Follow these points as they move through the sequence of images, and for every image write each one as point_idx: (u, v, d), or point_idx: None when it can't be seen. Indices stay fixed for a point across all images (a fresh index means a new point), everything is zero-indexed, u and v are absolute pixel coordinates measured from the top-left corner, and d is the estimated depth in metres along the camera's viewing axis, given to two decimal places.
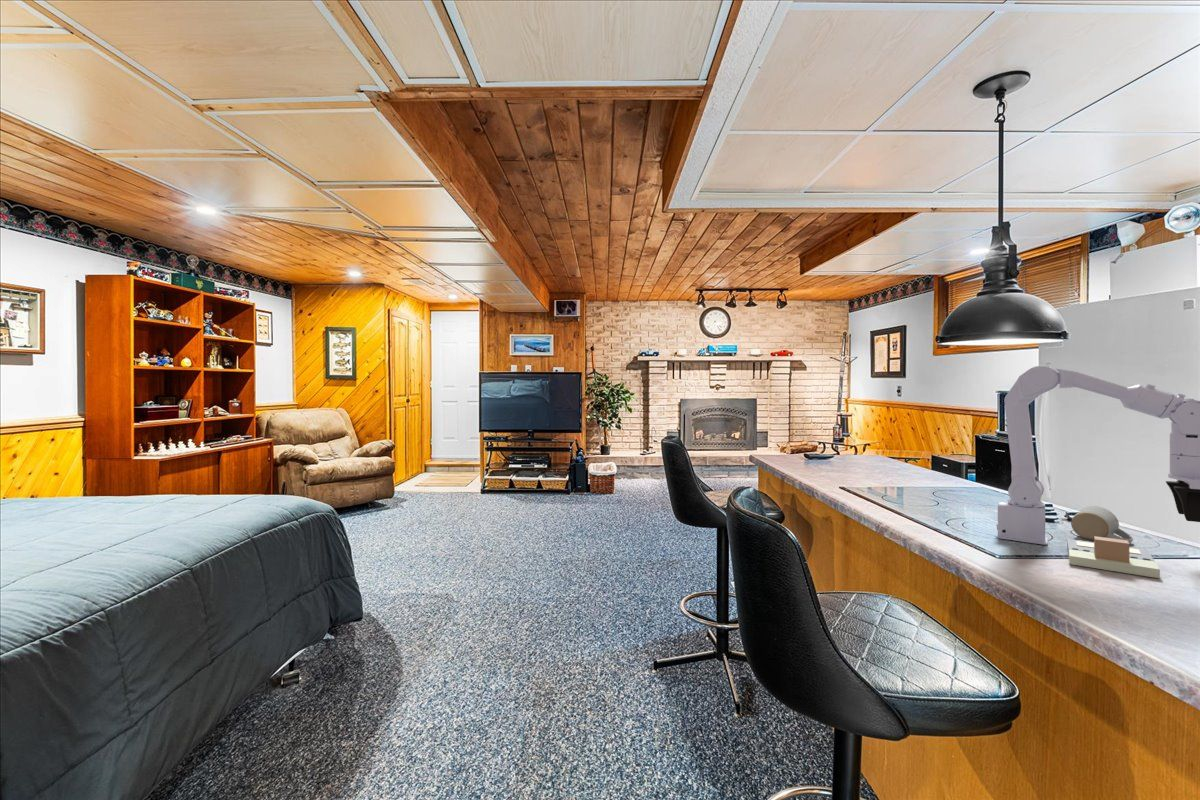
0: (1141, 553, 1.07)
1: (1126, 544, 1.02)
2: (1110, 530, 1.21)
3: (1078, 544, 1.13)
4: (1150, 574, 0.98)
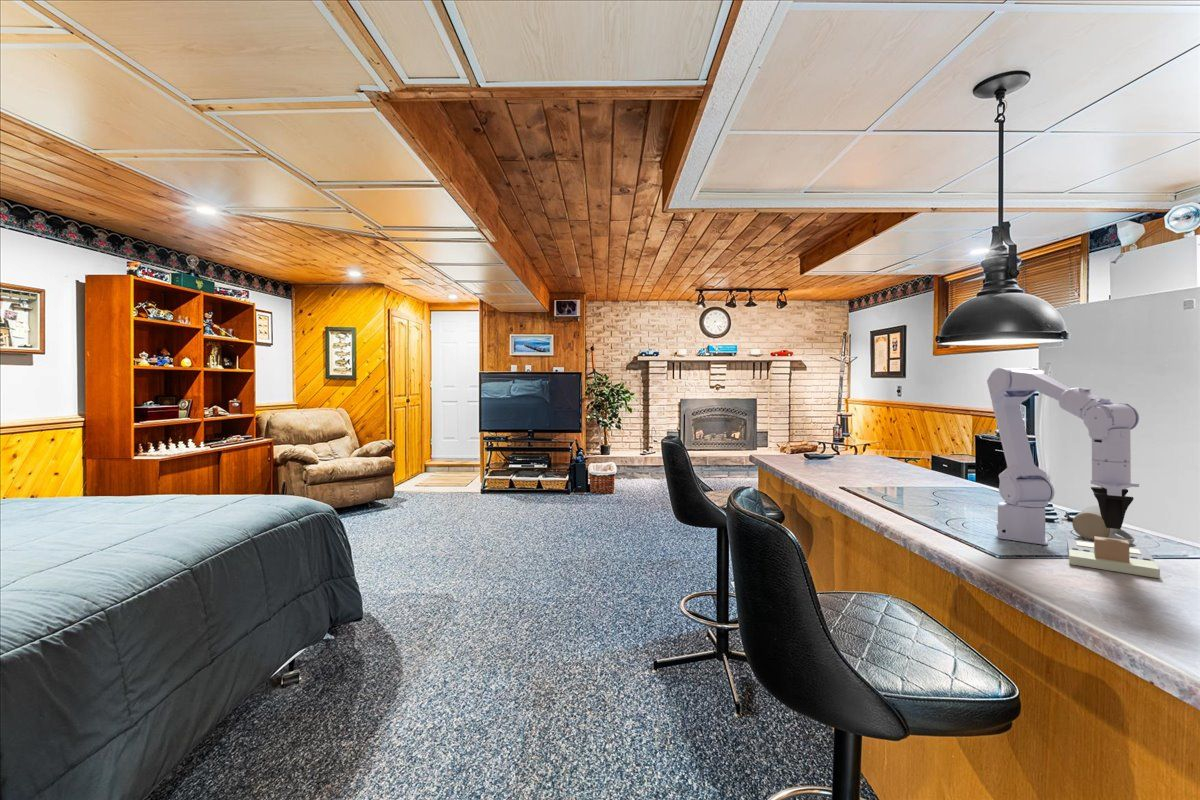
0: (1141, 553, 1.07)
1: (1126, 544, 1.02)
2: (1111, 530, 1.21)
3: (1078, 544, 1.13)
4: (1150, 574, 0.98)
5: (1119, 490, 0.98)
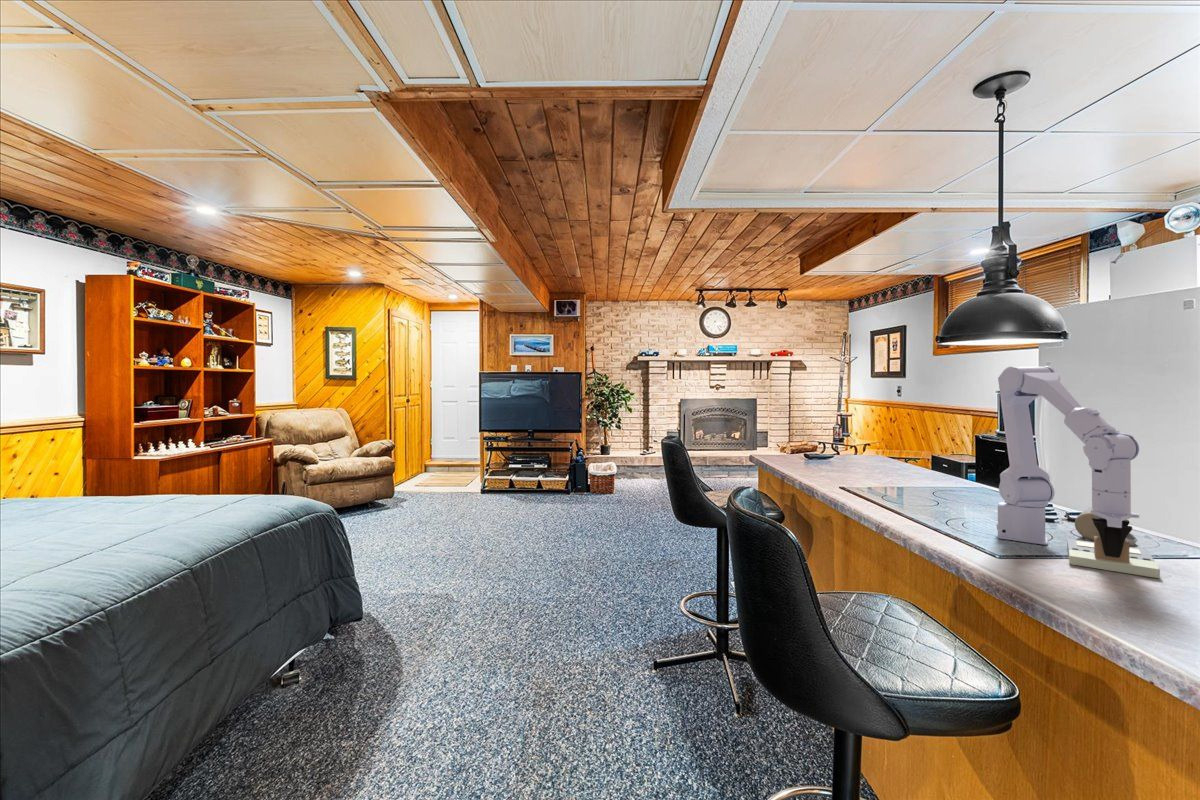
0: (1141, 553, 1.07)
1: (1126, 544, 1.02)
2: None
3: (1078, 544, 1.13)
4: (1150, 574, 0.98)
5: (1119, 521, 0.98)
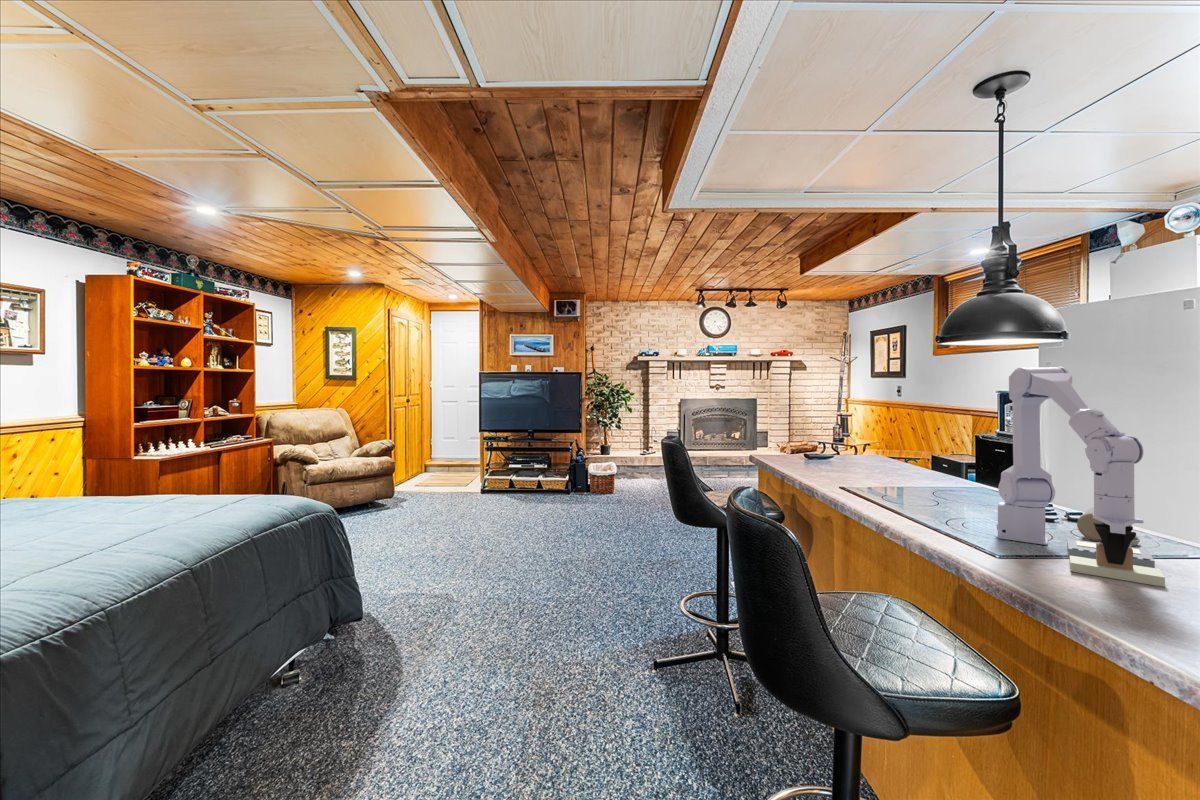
0: (1141, 553, 1.07)
1: (1129, 551, 0.97)
2: None
3: (1078, 544, 1.13)
4: (1155, 582, 0.94)
5: (1122, 527, 0.94)
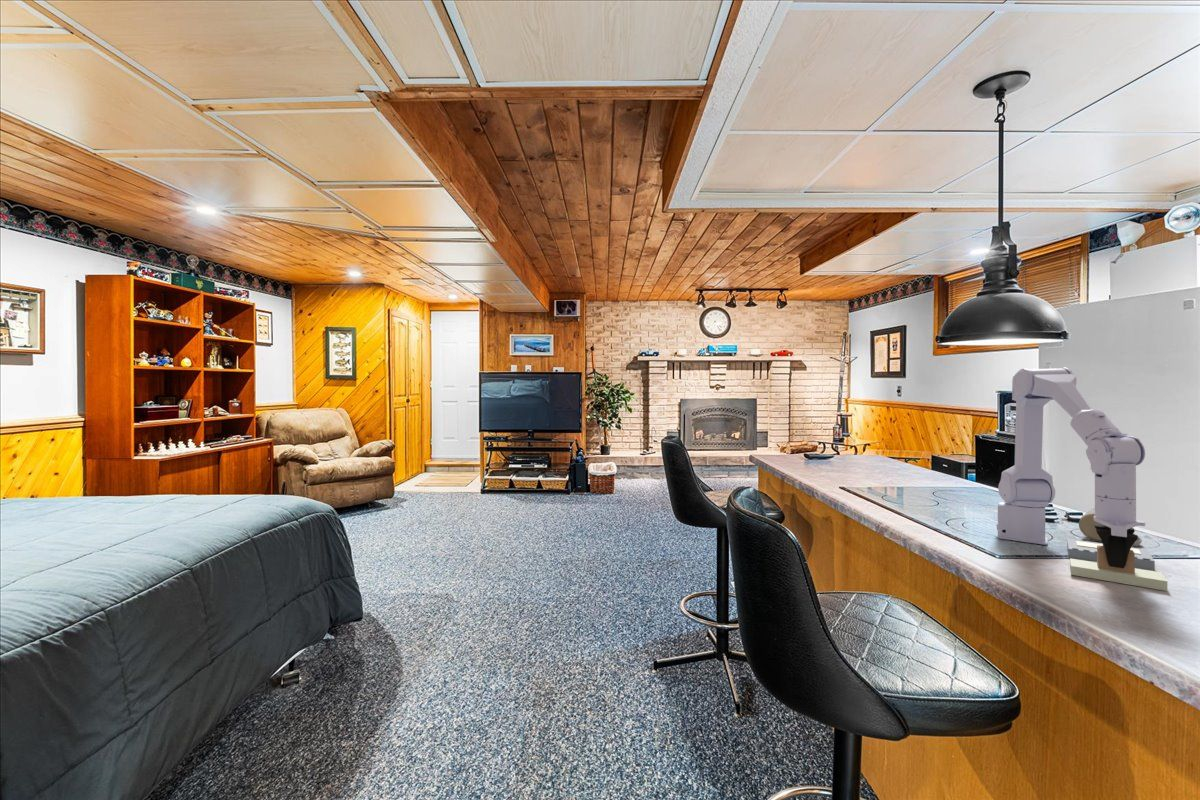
0: (1141, 553, 1.07)
1: (1131, 554, 0.96)
2: None
3: (1078, 544, 1.13)
4: (1157, 586, 0.92)
5: (1124, 530, 0.92)
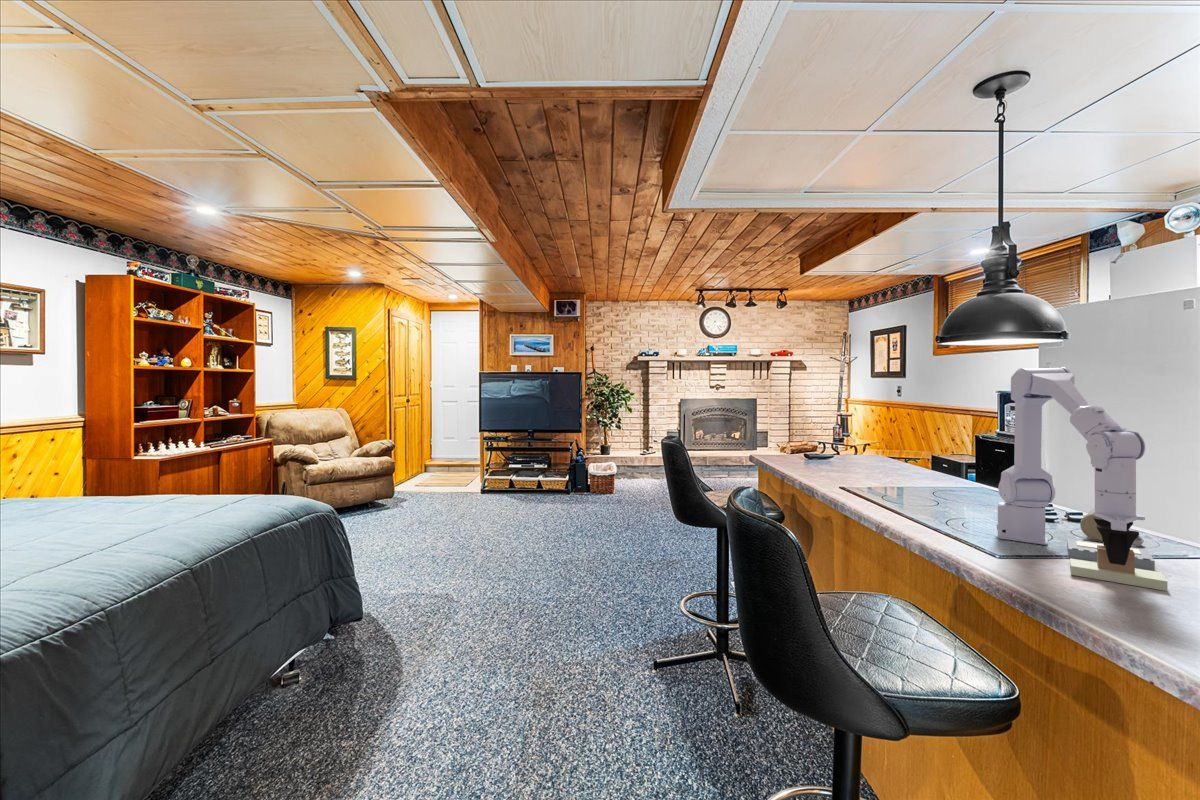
0: (1141, 553, 1.07)
1: (1131, 554, 0.96)
2: None
3: (1078, 544, 1.13)
4: (1157, 586, 0.92)
5: (1124, 524, 0.92)
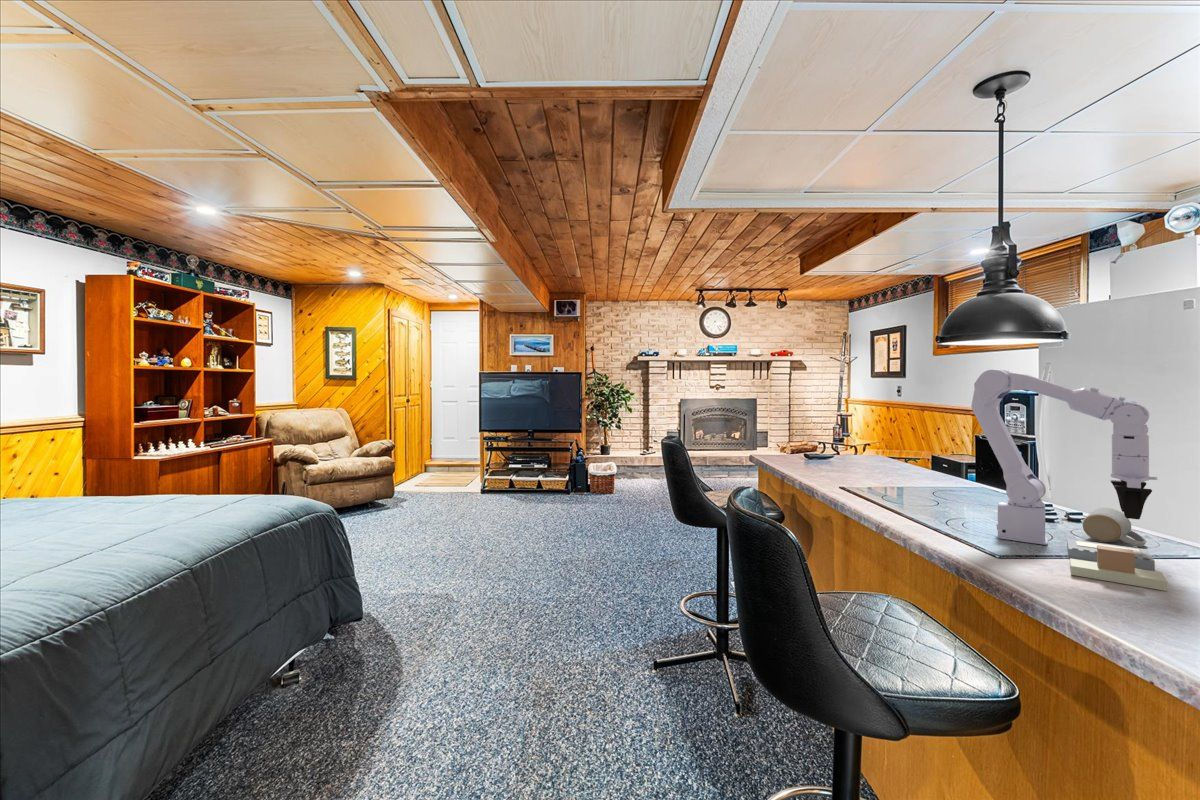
0: (1141, 553, 1.07)
1: (1131, 554, 0.96)
2: (1123, 532, 1.19)
3: (1078, 544, 1.13)
4: (1157, 586, 0.92)
5: (1138, 482, 1.05)
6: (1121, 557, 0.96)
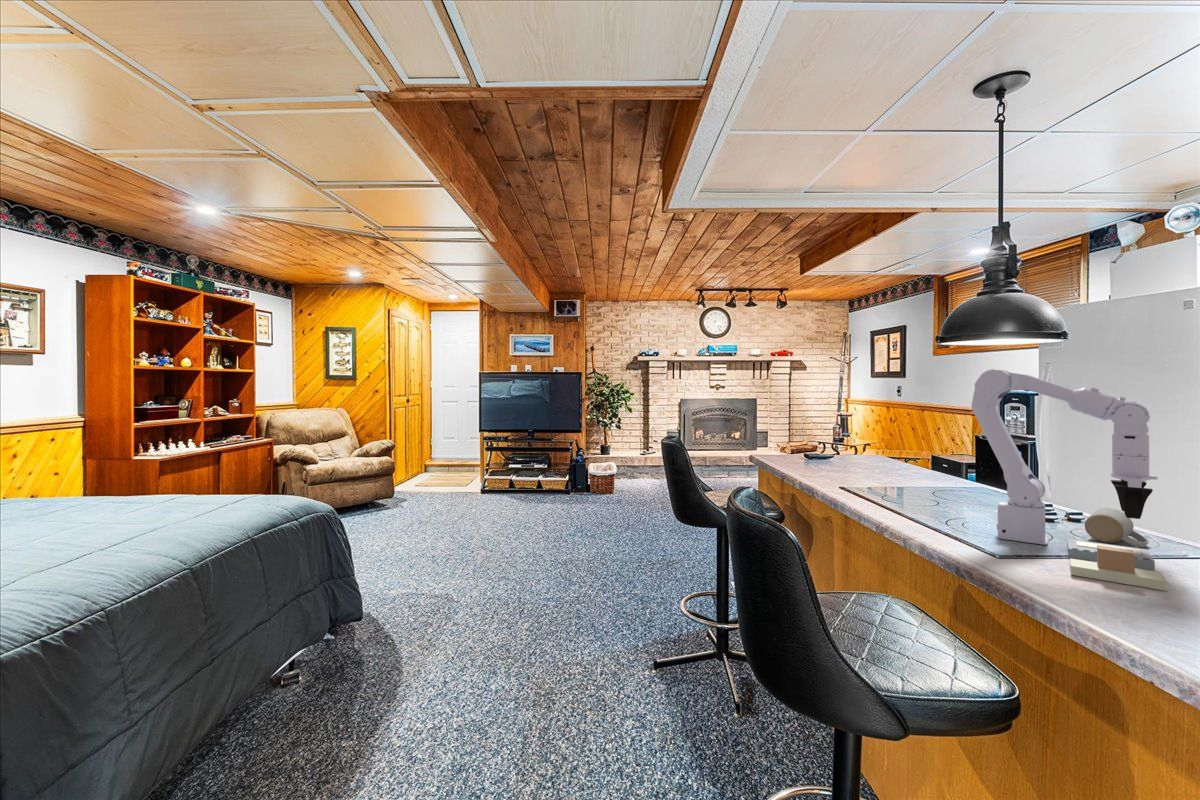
0: (1141, 553, 1.07)
1: (1131, 554, 0.96)
2: (1125, 532, 1.19)
3: (1078, 544, 1.13)
4: (1157, 586, 0.92)
5: (1139, 482, 1.05)
6: (1121, 557, 0.96)
